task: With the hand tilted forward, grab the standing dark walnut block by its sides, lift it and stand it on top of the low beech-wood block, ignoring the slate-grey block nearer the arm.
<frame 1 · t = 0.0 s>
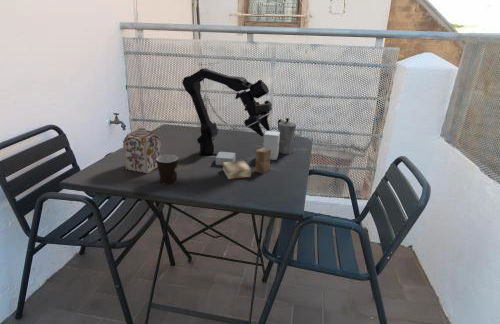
hand: (265, 133, 155), 15 cm above the table, tool tilted 35°, fingers open, 9 cm apart
walnut block: (262, 170, 152), on the table
decorative jar: (144, 167, 151), on the table
slate block: (225, 162, 160), on the table
coffee mug: (171, 179, 140), on the table
beech block: (236, 173, 149), on the table
supplement box: (270, 157, 168), on the table
coffeepot: (283, 150, 178), on the table
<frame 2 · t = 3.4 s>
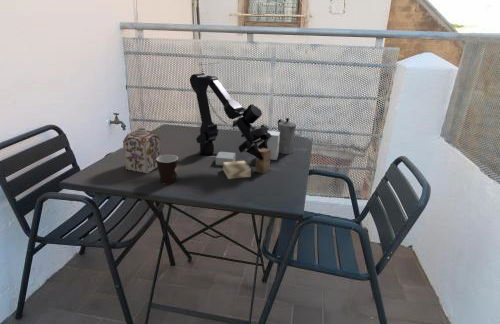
hand: (265, 157, 149), 7 cm above the table, tool tilted 45°, fingers closed on walnut block, 5 cm apart
walnut block: (262, 170, 152), on the table, touching gripper
everything else where it was.
when the fingers open (12 cm above the table, at t = 7.0 s): walnut block drops 2 cm, point 4 cm above the table.
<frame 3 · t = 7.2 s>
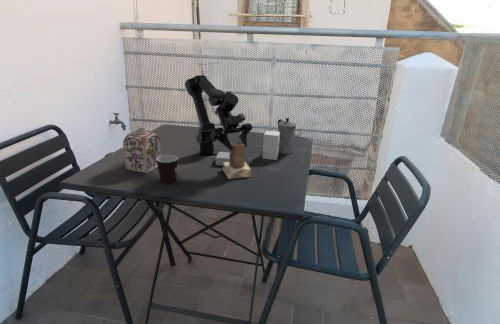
hand: (238, 148, 143), 12 cm above the table, tool tilted 45°, fingers open, 7 cm apart
walnut block: (236, 165, 147), point 4 cm above the table
everything else where it was.
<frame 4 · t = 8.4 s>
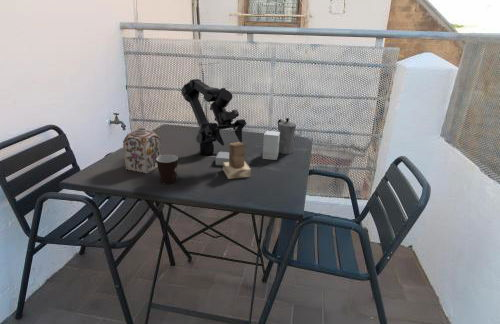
hand: (232, 143, 147), 13 cm above the table, tool tilted 45°, fingers open, 9 cm apart
walnut block: (236, 165, 147), point 4 cm above the table, touching beech block
beech block: (236, 174, 149), on the table, touching walnut block
everything else where it was.
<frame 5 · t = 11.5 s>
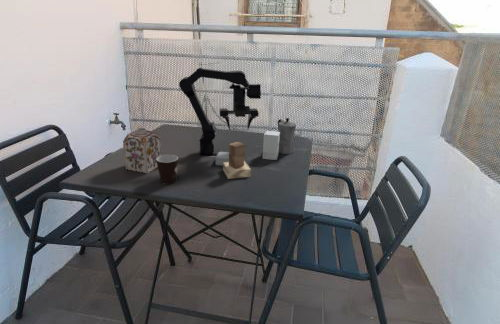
hand: (238, 129, 166), 13 cm above the table, tool pointing down, fingers open, 9 cm apart
walnut block: (236, 165, 147), point 4 cm above the table
beech block: (236, 174, 149), on the table
everything else where it was.
at the end: walnut block inside the target area on the beech block (0.1 cm from its centre), point 4.1 cm above the beech block's base; walnut block tilted 2°; beech block moved 0.5 cm from its start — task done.
